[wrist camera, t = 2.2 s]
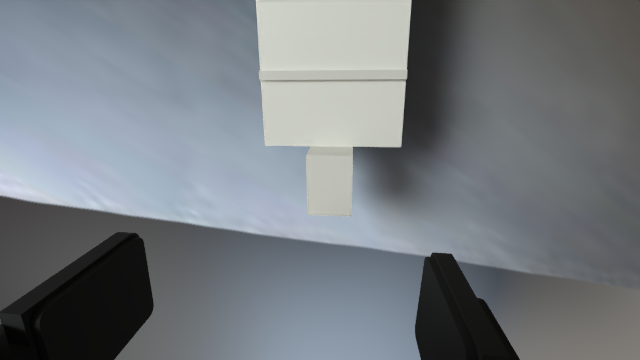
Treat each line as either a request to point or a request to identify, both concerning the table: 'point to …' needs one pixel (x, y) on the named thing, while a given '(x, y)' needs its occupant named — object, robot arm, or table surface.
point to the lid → (333, 85)
